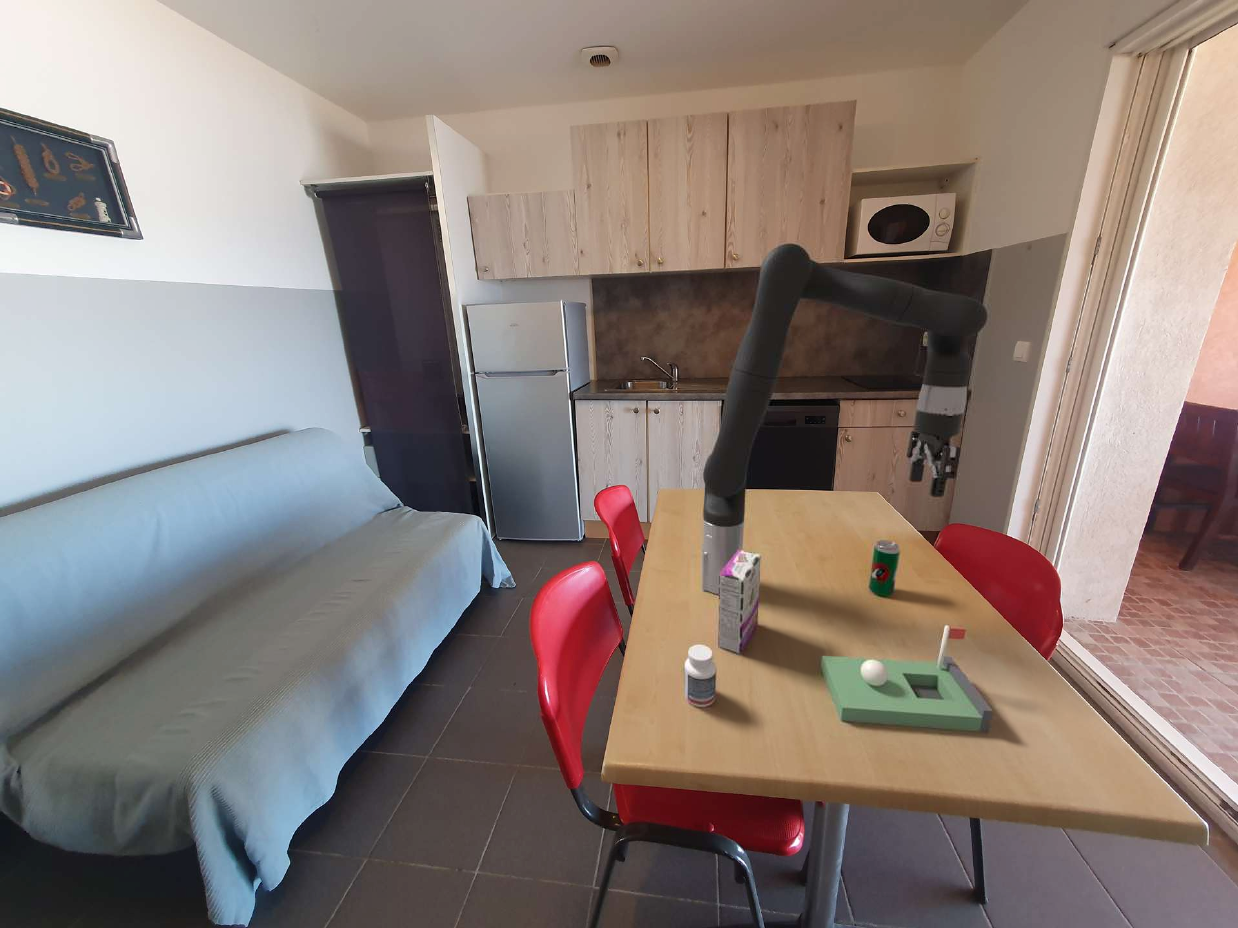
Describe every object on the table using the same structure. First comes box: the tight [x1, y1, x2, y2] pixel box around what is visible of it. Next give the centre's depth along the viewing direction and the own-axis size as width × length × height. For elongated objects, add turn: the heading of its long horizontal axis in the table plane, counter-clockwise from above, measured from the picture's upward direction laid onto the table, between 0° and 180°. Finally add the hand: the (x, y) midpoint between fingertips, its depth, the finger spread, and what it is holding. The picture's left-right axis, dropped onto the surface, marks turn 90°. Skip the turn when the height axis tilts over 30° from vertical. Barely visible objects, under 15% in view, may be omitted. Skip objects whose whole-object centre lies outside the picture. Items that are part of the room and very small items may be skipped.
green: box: [820, 624, 994, 733], centre depth 78 cm, size 22×12×11 cm, turn 82°
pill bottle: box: [683, 644, 717, 708], centre depth 80 cm, size 5×5×9 cm
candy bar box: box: [717, 549, 762, 655], centre depth 94 cm, size 11×5×16 cm, turn 148°
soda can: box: [868, 540, 901, 598], centre depth 108 cm, size 5×5×12 cm
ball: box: [861, 660, 888, 686], centre depth 79 cm, size 4×4×4 cm
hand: (925, 488), depth 96 cm, fingers open, 8 cm apart
